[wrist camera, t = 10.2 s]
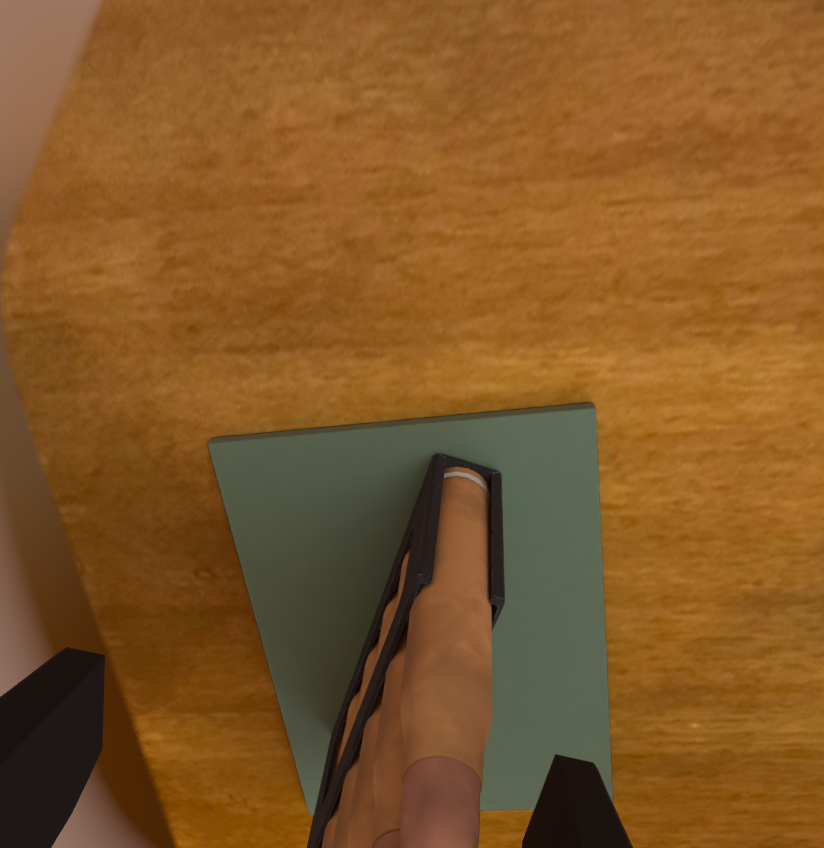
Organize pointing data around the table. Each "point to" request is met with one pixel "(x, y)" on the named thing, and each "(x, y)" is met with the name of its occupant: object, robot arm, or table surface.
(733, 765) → the table surface
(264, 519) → the mat
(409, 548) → the stripper clip of bullets
